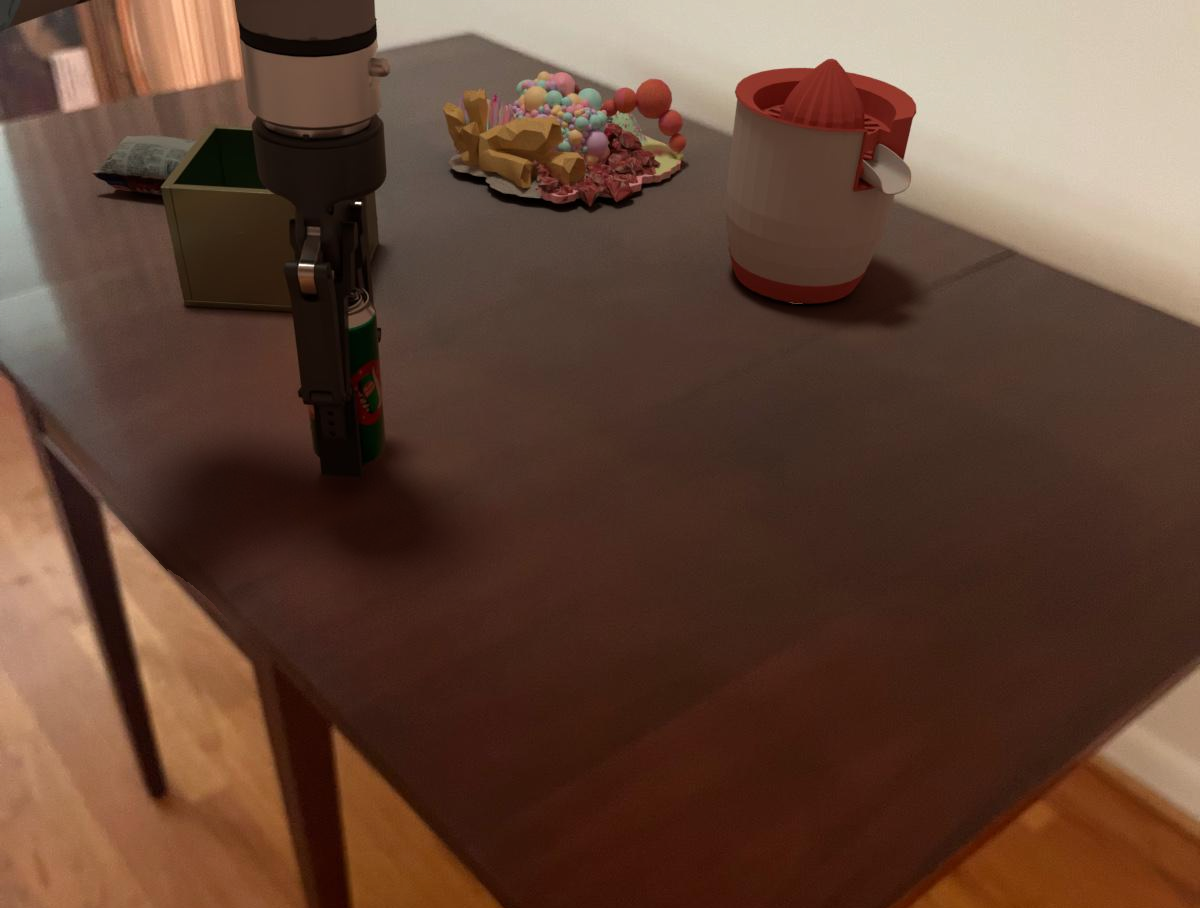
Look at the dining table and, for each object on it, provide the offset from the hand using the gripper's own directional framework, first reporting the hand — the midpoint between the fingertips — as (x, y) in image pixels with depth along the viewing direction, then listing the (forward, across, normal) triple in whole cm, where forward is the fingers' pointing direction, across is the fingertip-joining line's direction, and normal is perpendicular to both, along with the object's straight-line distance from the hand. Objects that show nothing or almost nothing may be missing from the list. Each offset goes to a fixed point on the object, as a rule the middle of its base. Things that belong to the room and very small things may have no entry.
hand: (349, 448), depth 83 cm
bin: (+3, +31, +12) cm, 33 cm away
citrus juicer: (+2, +35, -36) cm, 50 cm away
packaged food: (+3, +49, +28) cm, 56 cm away
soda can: (0, 0, 0) cm, 0 cm away
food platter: (+3, +61, -12) cm, 62 cm away
